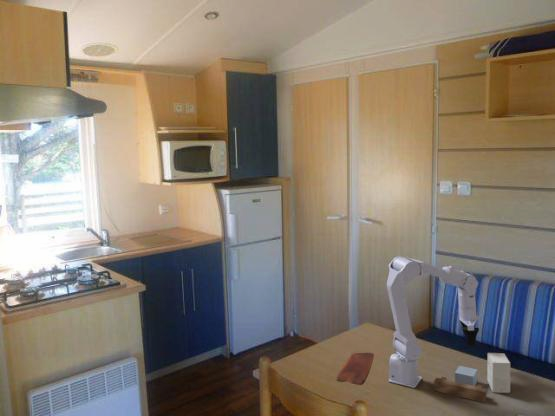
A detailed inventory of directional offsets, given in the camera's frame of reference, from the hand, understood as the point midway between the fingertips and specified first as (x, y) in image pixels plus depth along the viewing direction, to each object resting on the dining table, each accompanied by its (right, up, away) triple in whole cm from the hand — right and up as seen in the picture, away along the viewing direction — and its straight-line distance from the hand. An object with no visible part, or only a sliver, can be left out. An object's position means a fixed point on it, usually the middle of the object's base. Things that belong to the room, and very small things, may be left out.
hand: (469, 341), depth 178 cm
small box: (+5, -12, -12) cm, 18 cm away
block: (-5, -12, -9) cm, 16 cm away
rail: (-10, -13, -16) cm, 23 cm away
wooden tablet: (-39, -13, +8) cm, 42 cm away
